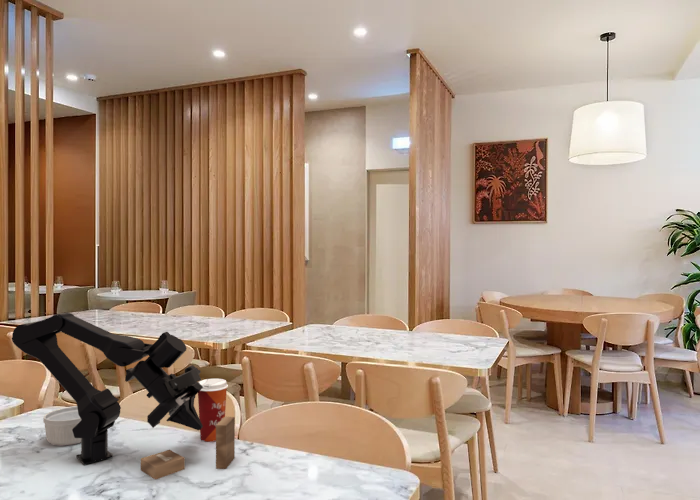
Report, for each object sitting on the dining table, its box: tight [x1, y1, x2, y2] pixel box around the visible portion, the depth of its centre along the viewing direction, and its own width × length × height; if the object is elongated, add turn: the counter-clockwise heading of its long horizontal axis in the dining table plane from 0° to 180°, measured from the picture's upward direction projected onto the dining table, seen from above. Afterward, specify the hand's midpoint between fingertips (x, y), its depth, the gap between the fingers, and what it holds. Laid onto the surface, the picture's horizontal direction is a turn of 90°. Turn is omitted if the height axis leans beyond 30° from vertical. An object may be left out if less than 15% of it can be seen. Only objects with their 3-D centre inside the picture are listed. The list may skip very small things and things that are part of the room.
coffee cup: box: [197, 378, 229, 443], centre depth 133 cm, size 8×8×15 cm
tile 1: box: [140, 449, 186, 480], centre depth 113 cm, size 7×7×3 cm
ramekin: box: [42, 405, 81, 446], centre depth 133 cm, size 13×13×7 cm
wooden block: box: [215, 416, 236, 470], centre depth 117 cm, size 3×6×10 cm, turn 174°
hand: (201, 428), depth 117 cm, fingers closed
